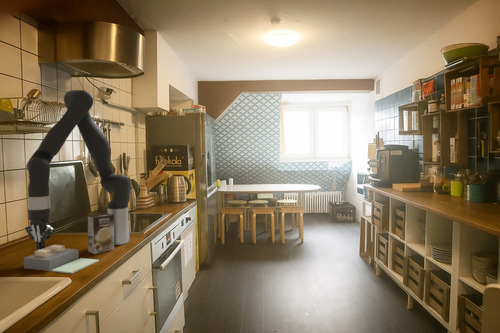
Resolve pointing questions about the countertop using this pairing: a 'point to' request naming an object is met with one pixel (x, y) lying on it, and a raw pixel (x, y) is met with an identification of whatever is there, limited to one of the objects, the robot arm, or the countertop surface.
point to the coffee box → (100, 233)
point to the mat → (75, 265)
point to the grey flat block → (51, 260)
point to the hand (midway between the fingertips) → (40, 250)
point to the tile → (49, 250)
